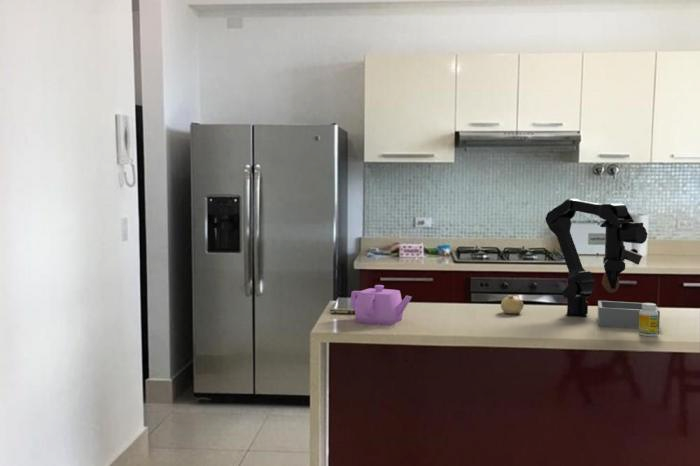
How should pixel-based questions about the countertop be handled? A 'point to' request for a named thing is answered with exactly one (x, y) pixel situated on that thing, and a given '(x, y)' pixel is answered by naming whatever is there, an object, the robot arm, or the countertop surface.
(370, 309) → the teakettle
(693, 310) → the countertop surface
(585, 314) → the robot arm
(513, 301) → the onion
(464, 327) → the countertop surface
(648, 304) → the supplement bottle
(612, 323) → the tote
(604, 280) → the coconut
